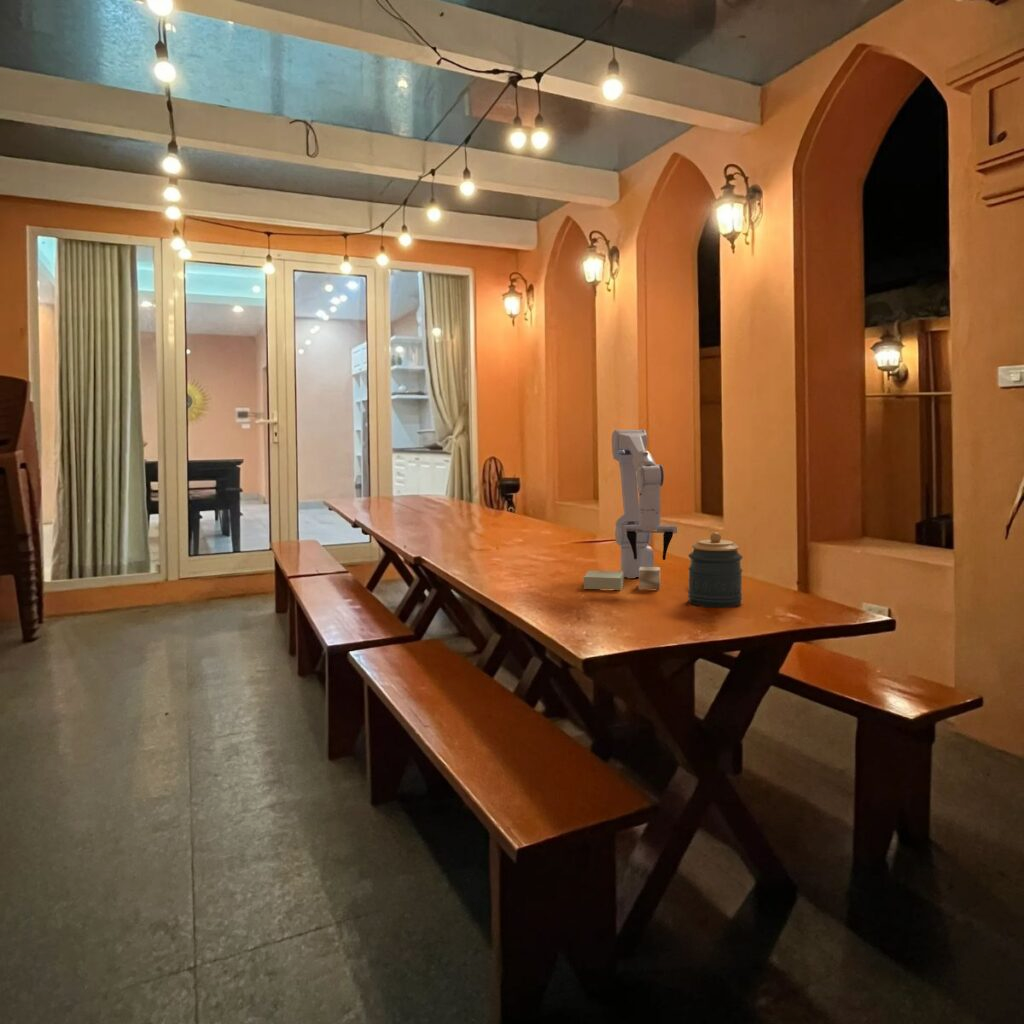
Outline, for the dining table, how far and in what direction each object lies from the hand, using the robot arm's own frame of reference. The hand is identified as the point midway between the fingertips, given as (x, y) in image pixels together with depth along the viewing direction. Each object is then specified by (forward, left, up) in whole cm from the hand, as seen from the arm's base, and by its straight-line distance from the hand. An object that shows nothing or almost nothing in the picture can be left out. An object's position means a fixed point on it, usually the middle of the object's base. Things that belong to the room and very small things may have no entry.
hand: (649, 559), depth 200 cm
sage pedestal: (+10, -8, -8) cm, 15 cm away
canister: (-4, +22, -8) cm, 24 cm away
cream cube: (0, 0, -8) cm, 8 cm away
